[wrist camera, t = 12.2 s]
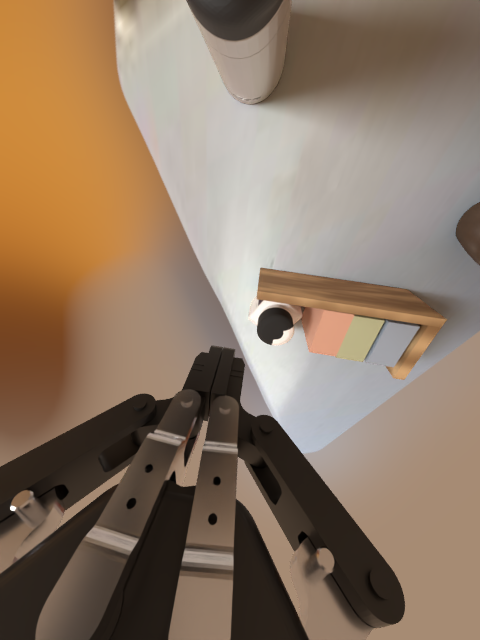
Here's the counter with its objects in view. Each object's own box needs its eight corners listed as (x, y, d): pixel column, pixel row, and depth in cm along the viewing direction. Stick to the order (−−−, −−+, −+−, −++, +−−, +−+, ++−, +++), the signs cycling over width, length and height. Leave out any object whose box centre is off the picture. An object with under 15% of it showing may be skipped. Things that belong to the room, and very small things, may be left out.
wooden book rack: (260, 267, 46) (257, 291, 36) (406, 289, 45) (446, 319, 35) (251, 322, 53) (247, 354, 43) (377, 341, 52) (404, 379, 42)
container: (250, 302, 51) (244, 334, 40) (272, 277, 47) (273, 305, 36) (275, 321, 53) (277, 357, 42) (299, 298, 49) (308, 331, 38)
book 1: (312, 282, 47) (324, 310, 37) (336, 286, 47) (354, 314, 36) (301, 319, 52) (309, 352, 41) (322, 322, 51) (336, 356, 41)
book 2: (335, 287, 47) (354, 316, 37) (359, 291, 47) (384, 320, 36) (322, 323, 52) (335, 357, 41) (344, 326, 51) (362, 361, 41)
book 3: (362, 292, 47) (388, 322, 36) (386, 295, 46) (419, 326, 36) (347, 327, 51) (366, 362, 41) (369, 331, 51) (393, 367, 41)
